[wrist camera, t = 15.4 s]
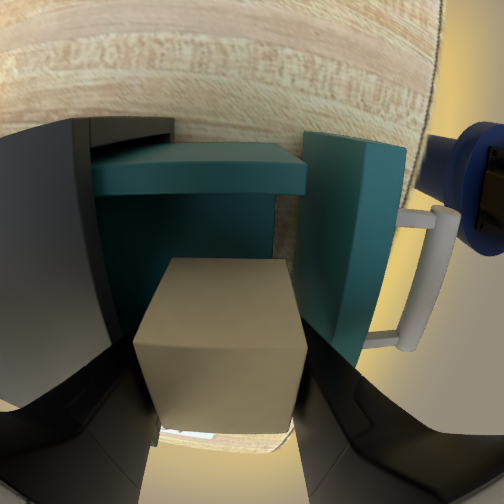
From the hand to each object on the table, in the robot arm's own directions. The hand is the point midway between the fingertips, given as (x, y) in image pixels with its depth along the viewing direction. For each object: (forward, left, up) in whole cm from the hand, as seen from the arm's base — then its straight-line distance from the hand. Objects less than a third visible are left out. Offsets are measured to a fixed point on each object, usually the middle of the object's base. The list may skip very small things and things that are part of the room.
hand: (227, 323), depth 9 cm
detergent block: (0, 0, -1) cm, 1 cm away
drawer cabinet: (+11, 0, -8) cm, 13 cm away
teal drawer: (0, 0, -7) cm, 7 cm away
